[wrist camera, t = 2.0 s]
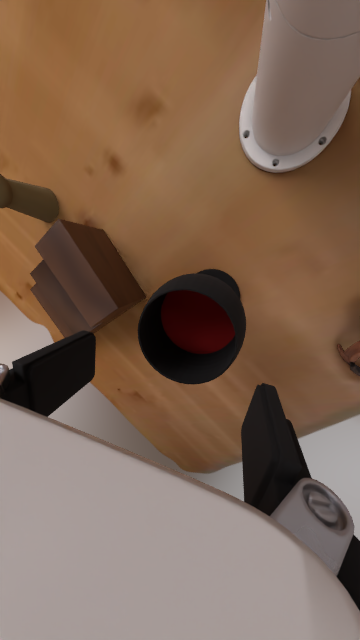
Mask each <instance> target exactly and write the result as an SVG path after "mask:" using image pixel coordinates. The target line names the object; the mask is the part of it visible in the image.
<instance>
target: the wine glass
mask: <svg viewBox="0 0 360 640" xmlns="http://www.w3.org/2000/svg"><path fill="white" fill-rule="evenodd" d="M245 331H246V317H245V312H244V308H243V306H242V303H241V301H240V292H239V288H238V286H237V284H236V282H235V281H234V280H233V278H232V277H231V276H229V275H228V274H226V273H225V272H223V271H220V270H215V269H208V270H203V271H200V272H198V273H196V274H186V275H182V276H179V277H176V278H174V279H172V280H170V281H168V282H167V283H165V284H164V285H162V286H161V287H160V288H159V289H158V290H157V291H156V292H155V293H154V294H153V295H152V297H151V298H150V300H149V301H148V303H147V304H146V306H145V308H144V310H143V312H142V314H141V317H140V320H139V324H138V339H139V344H140V347H141V350H142V352H143V354H144V356H145V358H146V359H147V361H148V362H149V363H150V365H151V366H152V367H153V368H154V369H155V370H156V371H158V372H159V373H160V374H162V375H163V376H165V377H166V378H168V379H171V380H173V381H176V382H179V383H184V384H201V383H205V382H209V381H211V380H213V379H216V378H217V377H219V376H220V375H222V374H223V373H224V372H225V371H226V370H227V369H228V368H229V367H230V365H231V364H232V363H233V361H234V360H235V359H236V357H237V355H238V353H239V351H240V349H241V347H242V344H243V341H244V338H245Z"/></svg>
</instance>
